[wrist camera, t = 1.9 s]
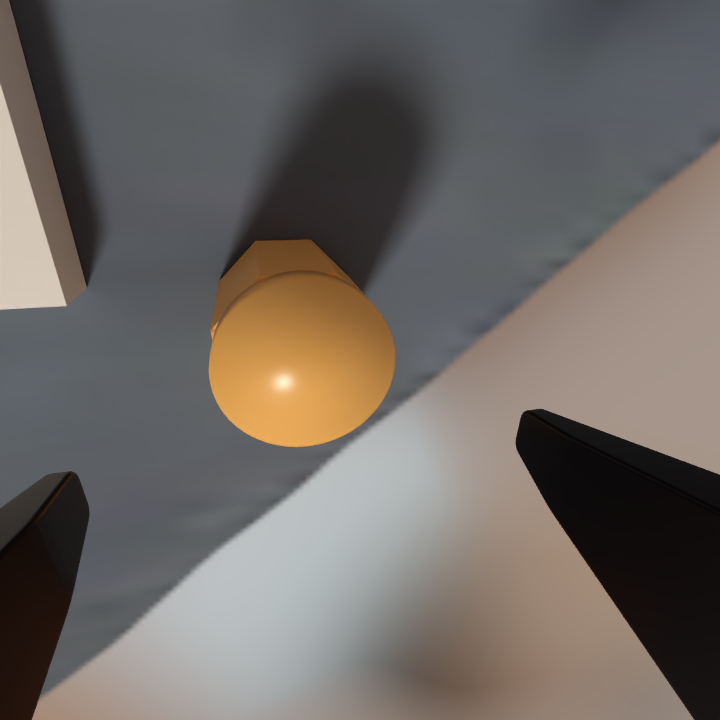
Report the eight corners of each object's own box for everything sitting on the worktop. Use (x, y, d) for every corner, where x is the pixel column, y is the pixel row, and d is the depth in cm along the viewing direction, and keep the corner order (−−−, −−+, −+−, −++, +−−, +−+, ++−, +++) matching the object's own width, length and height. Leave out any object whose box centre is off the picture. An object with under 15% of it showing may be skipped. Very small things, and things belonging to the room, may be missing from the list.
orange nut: (348, 355, 19) (390, 434, 14) (227, 366, 18) (221, 457, 12) (350, 235, 16) (401, 275, 11) (210, 239, 15) (194, 284, 10)
